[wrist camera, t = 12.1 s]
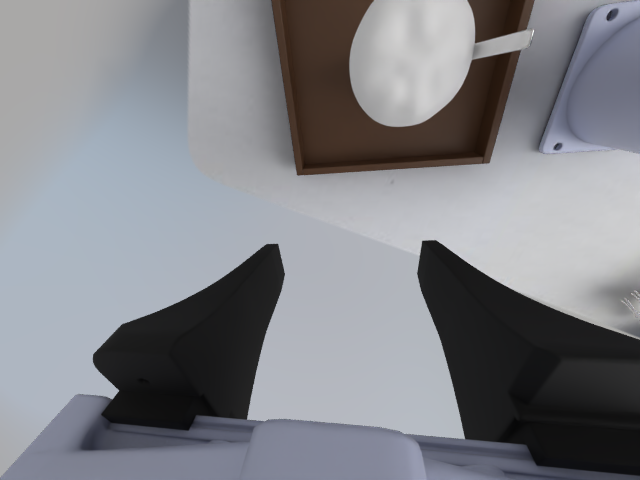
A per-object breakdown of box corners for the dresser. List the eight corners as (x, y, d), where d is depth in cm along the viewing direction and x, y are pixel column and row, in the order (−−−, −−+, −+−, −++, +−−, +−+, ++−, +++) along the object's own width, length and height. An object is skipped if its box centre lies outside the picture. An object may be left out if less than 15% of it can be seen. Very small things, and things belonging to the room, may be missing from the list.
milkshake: (427, 107, 16) (508, 124, 8) (350, 116, 17) (351, 139, 9) (437, 21, 14) (566, -83, 6) (348, 36, 15) (346, -37, 7)
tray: (536, -85, 12) (566, -114, 10) (476, 156, 18) (489, 163, 17) (273, -34, 14) (263, -51, 12) (301, 168, 20) (297, 175, 19)
